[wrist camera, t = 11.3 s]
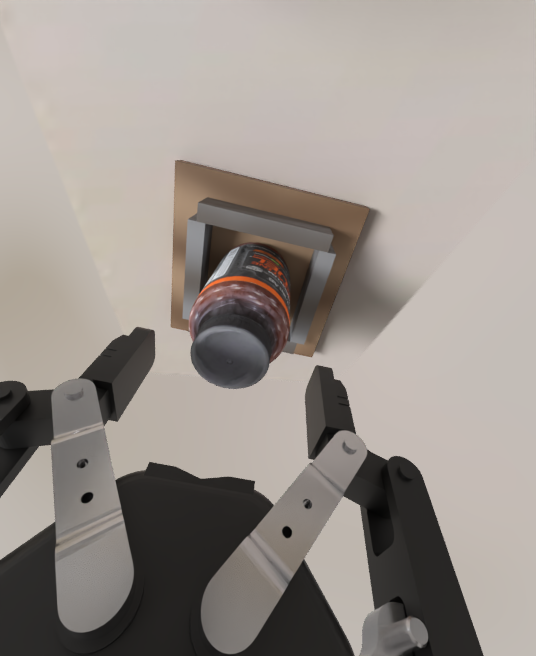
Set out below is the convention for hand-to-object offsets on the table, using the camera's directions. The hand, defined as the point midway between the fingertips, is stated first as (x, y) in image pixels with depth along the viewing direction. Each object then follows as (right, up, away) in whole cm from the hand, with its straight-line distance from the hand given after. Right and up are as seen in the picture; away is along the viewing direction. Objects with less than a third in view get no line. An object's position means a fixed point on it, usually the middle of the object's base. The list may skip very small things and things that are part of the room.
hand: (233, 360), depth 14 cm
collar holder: (+1, +7, +11) cm, 12 cm away
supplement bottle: (+1, +6, +10) cm, 11 cm away
